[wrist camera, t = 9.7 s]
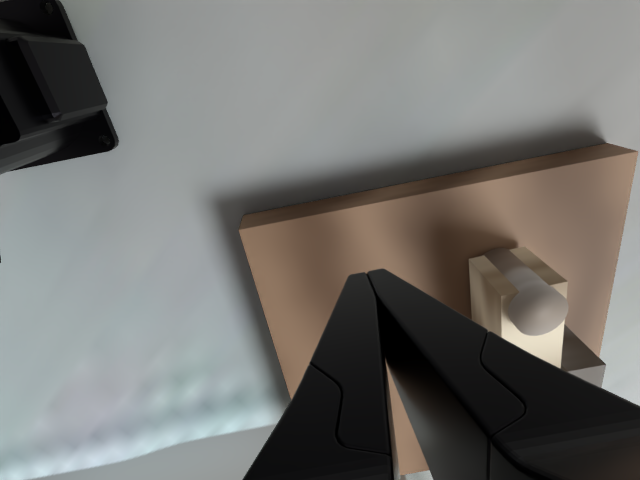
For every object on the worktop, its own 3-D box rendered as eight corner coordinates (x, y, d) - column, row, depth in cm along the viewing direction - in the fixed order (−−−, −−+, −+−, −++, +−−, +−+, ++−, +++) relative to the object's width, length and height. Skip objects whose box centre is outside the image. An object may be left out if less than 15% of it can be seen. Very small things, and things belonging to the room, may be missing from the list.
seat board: (317, 464, 30) (322, 543, 25) (243, 215, 21) (227, 264, 16) (565, 419, 30) (619, 490, 25) (607, 143, 20) (709, 170, 15)
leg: (467, 254, 20) (508, 300, 16) (523, 242, 20) (577, 285, 16) (476, 419, 26) (507, 481, 22) (519, 410, 26) (558, 471, 22)
